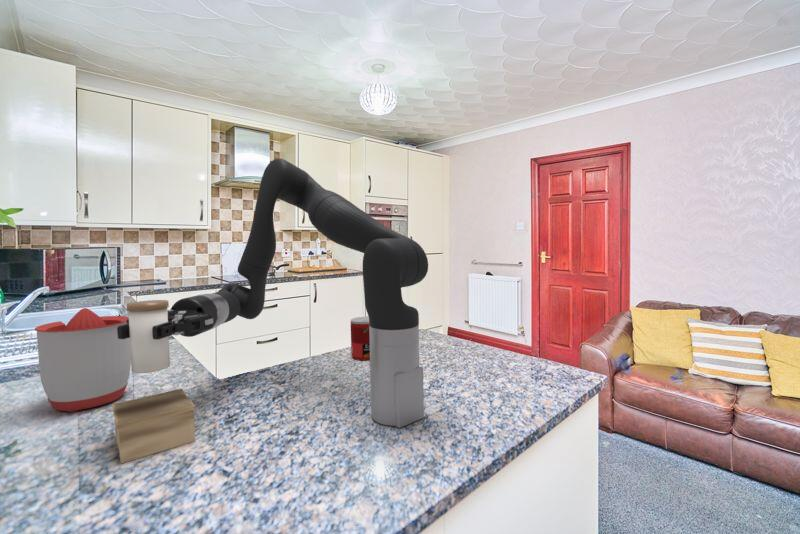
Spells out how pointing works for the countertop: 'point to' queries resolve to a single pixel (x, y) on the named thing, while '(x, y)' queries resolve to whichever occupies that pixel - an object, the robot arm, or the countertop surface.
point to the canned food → (360, 338)
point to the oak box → (153, 424)
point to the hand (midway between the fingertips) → (137, 333)
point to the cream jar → (148, 336)
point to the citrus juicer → (83, 361)
